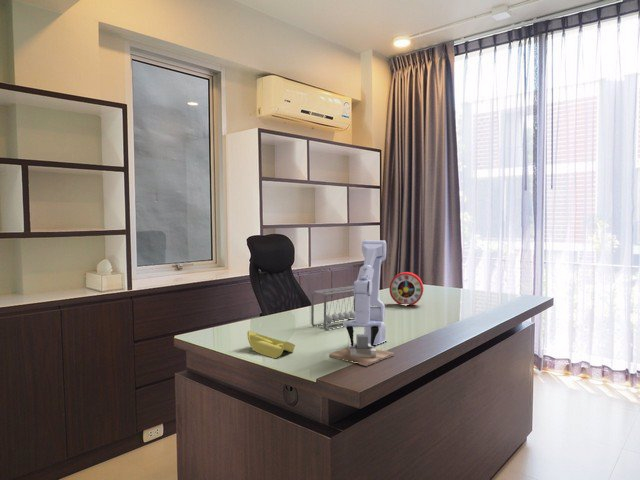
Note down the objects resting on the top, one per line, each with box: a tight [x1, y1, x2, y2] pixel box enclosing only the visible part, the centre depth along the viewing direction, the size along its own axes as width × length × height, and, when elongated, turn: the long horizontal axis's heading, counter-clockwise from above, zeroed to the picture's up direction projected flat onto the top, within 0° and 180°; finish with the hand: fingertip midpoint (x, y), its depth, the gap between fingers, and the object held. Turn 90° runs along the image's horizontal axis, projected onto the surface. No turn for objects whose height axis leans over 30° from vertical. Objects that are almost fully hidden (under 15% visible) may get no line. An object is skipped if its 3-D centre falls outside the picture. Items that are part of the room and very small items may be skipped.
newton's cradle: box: [310, 285, 355, 331], centre depth 228 cm, size 30×10×18 cm, turn 130°
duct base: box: [328, 343, 395, 364], centre depth 177 cm, size 18×18×4 cm
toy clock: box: [388, 271, 424, 306], centre depth 278 cm, size 20×6×20 cm, turn 73°
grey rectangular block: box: [355, 333, 368, 349], centre depth 177 cm, size 4×4×7 cm
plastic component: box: [247, 330, 296, 359], centre depth 183 cm, size 20×7×10 cm
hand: (362, 345), depth 177 cm, fingers open, 7 cm apart
